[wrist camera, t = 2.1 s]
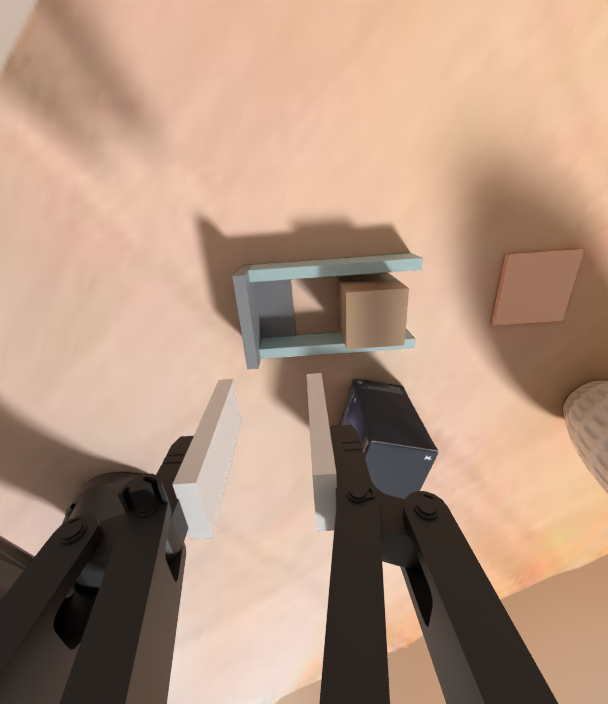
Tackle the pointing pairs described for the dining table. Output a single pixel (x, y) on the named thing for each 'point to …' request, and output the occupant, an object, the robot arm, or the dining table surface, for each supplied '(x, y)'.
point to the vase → (590, 427)
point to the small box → (390, 436)
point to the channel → (277, 305)
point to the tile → (536, 286)
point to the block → (372, 310)
